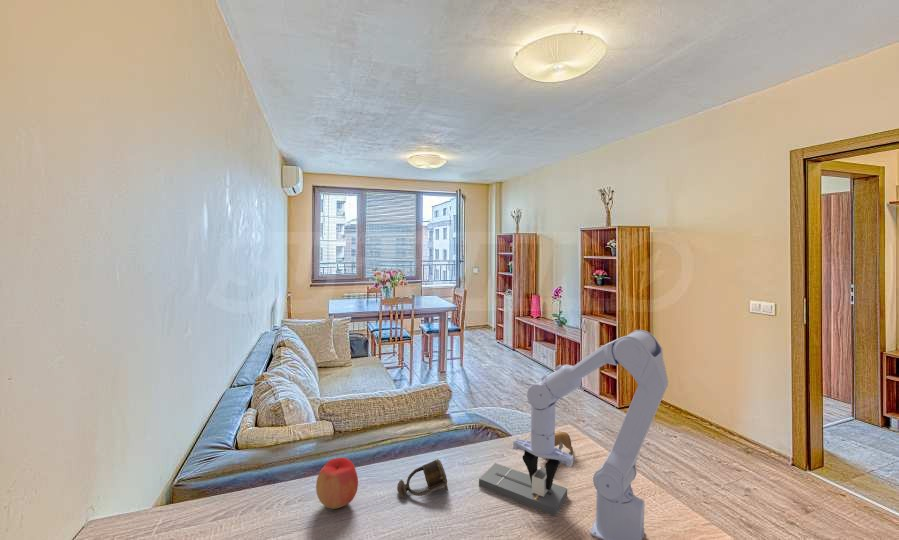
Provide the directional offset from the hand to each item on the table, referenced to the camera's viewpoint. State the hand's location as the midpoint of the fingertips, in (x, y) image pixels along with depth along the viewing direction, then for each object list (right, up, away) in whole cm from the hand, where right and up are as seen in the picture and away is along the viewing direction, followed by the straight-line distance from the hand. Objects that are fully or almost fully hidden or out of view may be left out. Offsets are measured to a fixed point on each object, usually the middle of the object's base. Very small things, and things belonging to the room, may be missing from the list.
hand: (541, 484), depth 94 cm
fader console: (-4, -3, +3) cm, 6 cm away
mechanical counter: (-29, -3, +4) cm, 30 cm away
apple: (-49, -3, -3) cm, 49 cm away
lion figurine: (+8, -3, +20) cm, 21 cm away
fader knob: (0, -1, 0) cm, 1 cm away
